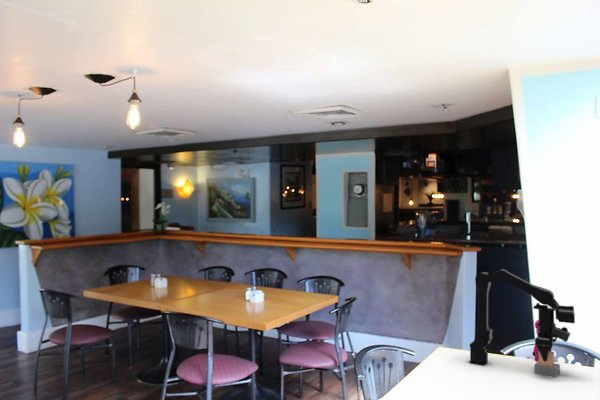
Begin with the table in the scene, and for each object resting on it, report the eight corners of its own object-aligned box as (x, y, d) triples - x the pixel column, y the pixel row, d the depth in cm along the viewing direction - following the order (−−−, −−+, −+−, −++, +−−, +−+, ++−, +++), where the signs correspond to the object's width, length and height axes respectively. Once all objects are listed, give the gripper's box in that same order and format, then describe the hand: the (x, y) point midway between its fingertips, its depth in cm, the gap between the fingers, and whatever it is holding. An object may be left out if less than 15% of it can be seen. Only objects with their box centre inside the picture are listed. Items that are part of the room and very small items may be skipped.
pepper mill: (555, 363, 208) (554, 317, 209) (538, 363, 208) (537, 317, 209) (546, 359, 215) (546, 314, 216) (530, 358, 215) (530, 314, 216)
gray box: (534, 374, 194) (534, 364, 194) (538, 370, 199) (538, 360, 199) (556, 378, 189) (556, 368, 189) (559, 374, 194) (559, 364, 194)
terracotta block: (538, 364, 194) (538, 352, 194) (540, 361, 198) (540, 349, 198) (552, 366, 191) (552, 354, 191) (554, 364, 195) (554, 351, 195)
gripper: (566, 326, 183) (566, 367, 182) (570, 319, 198) (571, 357, 197) (534, 323, 189) (535, 362, 188) (541, 316, 204) (541, 352, 204)
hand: (546, 358), depth 194 cm, fingers open, 9 cm apart
